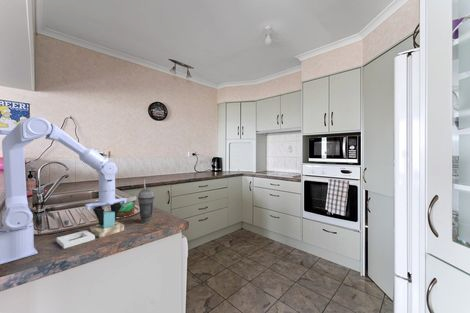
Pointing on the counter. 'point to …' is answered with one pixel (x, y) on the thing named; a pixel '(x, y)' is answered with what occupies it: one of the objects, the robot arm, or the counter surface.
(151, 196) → the beverage cup
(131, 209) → the food container
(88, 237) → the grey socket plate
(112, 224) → the teal plug
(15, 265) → the counter surface
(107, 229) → the ash socket block
